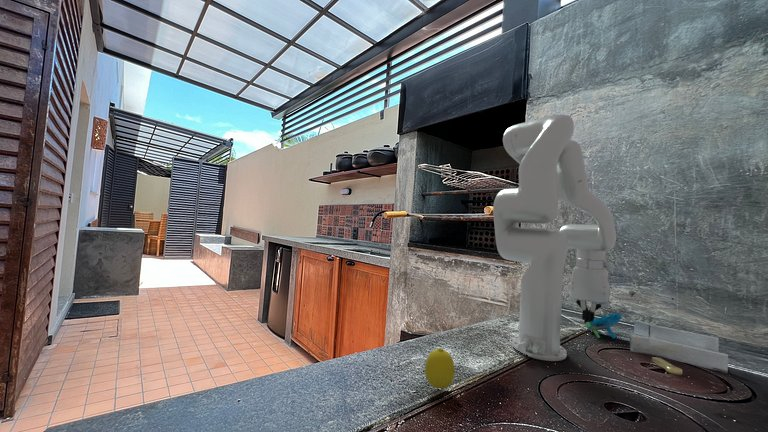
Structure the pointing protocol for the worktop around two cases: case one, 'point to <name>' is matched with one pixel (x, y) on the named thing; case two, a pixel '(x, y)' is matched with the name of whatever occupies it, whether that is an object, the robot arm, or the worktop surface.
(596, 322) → the blue green toy animal
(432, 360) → the lemon
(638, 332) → the channel
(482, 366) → the worktop surface
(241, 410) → the worktop surface
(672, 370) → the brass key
